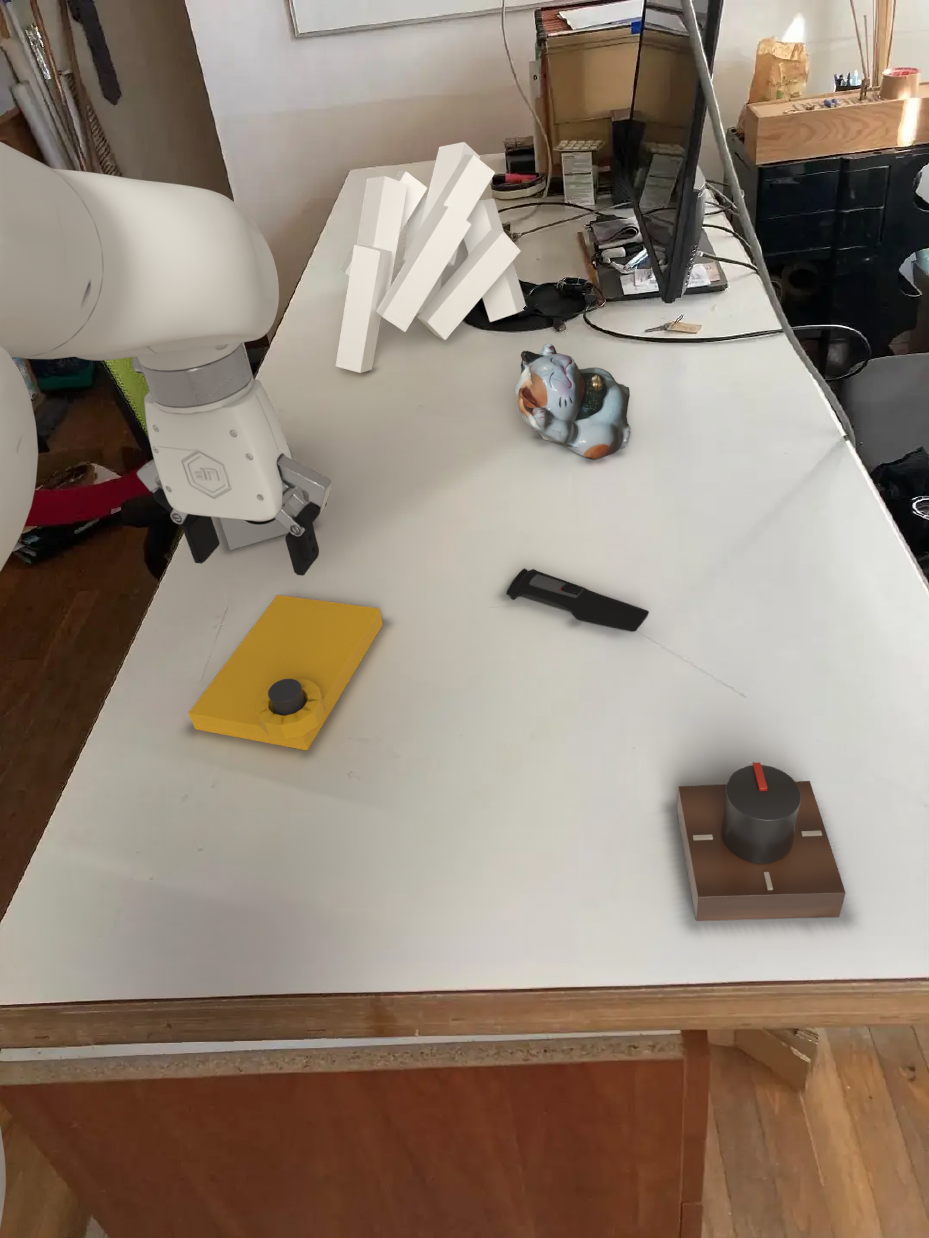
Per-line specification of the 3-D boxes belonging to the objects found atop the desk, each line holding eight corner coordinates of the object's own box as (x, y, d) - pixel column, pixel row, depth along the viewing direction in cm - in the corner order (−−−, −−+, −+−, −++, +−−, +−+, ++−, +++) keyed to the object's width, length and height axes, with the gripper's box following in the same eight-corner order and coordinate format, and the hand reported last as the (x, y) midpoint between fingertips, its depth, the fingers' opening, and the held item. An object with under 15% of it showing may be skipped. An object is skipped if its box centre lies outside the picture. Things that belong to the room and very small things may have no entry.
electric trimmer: (637, 648, 90) (638, 623, 88) (504, 599, 98) (502, 575, 96) (655, 626, 92) (656, 601, 90) (523, 580, 100) (521, 556, 98)
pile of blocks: (462, 428, 139) (553, 186, 123) (281, 349, 140) (347, 99, 124) (504, 385, 170) (581, 187, 153) (355, 321, 171) (416, 118, 155)
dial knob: (800, 863, 66) (809, 816, 63) (728, 865, 67) (733, 818, 63) (784, 807, 70) (792, 760, 67) (716, 809, 70) (721, 763, 67)
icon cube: (294, 488, 120) (275, 418, 114) (311, 526, 113) (292, 454, 106) (217, 509, 118) (194, 440, 112) (230, 550, 111) (206, 477, 104)
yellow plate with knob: (312, 760, 83) (302, 729, 80) (189, 736, 87) (176, 706, 84) (391, 625, 96) (385, 595, 94) (281, 610, 100) (273, 581, 98)
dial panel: (839, 917, 66) (846, 891, 64) (695, 921, 67) (698, 895, 65) (805, 805, 73) (810, 779, 71) (676, 810, 74) (678, 784, 72)
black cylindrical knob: (296, 718, 82) (291, 704, 81) (266, 713, 83) (261, 699, 82) (311, 695, 84) (306, 681, 83) (282, 690, 85) (277, 676, 84)
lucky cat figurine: (627, 465, 115) (574, 387, 106) (544, 488, 122) (487, 417, 113) (640, 380, 123) (591, 301, 114) (562, 406, 130) (510, 334, 121)
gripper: (72, 391, 68) (147, 575, 79) (279, 402, 63) (329, 598, 74) (129, 347, 74) (193, 526, 85) (325, 354, 68) (366, 544, 79)
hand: (256, 559), depth 79 cm, fingers open, 9 cm apart
